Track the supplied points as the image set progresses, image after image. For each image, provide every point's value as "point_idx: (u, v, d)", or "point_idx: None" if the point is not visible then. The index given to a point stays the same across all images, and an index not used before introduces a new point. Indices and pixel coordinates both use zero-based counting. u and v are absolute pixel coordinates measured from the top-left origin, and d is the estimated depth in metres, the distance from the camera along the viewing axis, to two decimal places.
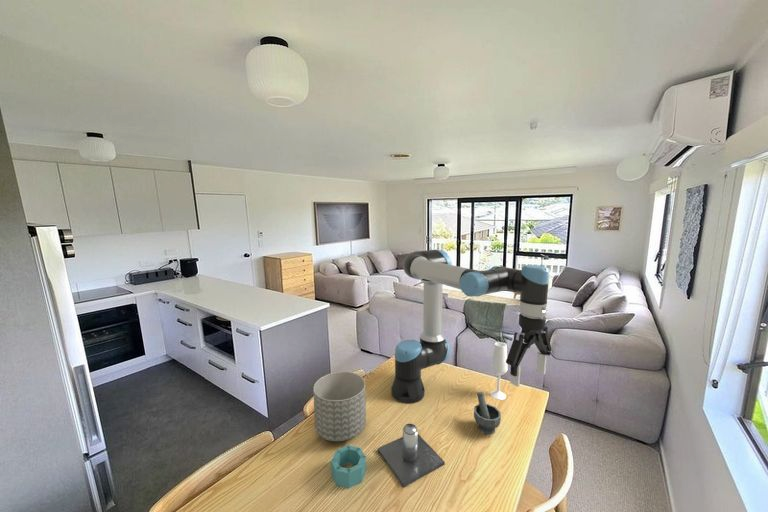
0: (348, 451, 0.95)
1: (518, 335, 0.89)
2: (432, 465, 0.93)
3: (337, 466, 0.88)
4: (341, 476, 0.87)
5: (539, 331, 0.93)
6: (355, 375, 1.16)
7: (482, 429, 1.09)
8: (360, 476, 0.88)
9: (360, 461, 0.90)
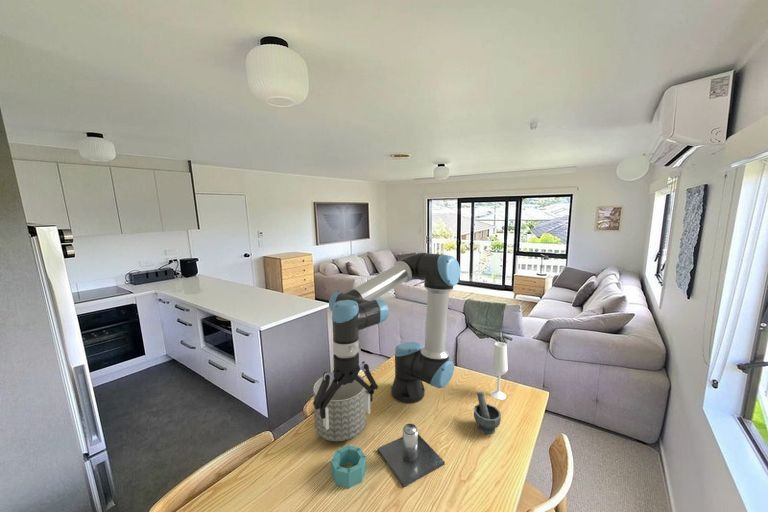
0: (348, 451, 0.95)
1: (325, 375, 0.84)
2: (432, 465, 0.93)
3: (337, 466, 0.88)
4: (341, 476, 0.87)
5: (355, 370, 0.88)
6: None
7: (482, 429, 1.09)
8: (360, 476, 0.88)
9: (360, 461, 0.90)
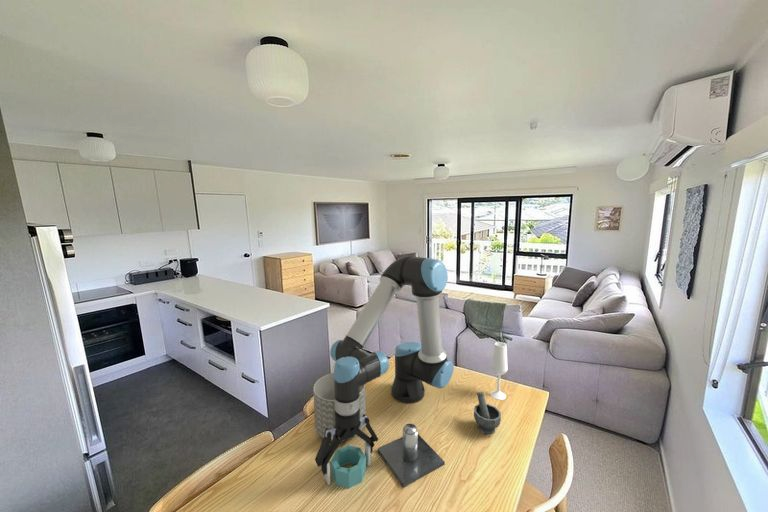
0: (348, 451, 0.95)
1: (326, 433, 0.86)
2: (432, 465, 0.93)
3: (337, 466, 0.88)
4: (341, 476, 0.87)
5: (356, 425, 0.90)
6: None
7: (482, 429, 1.09)
8: (360, 476, 0.88)
9: (360, 461, 0.90)
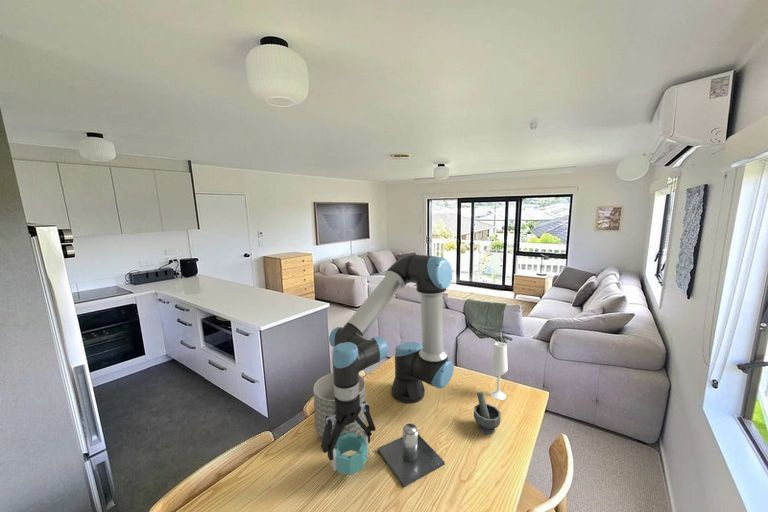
0: (349, 439, 0.95)
1: (326, 420, 0.86)
2: (432, 465, 0.93)
3: (338, 454, 0.88)
4: (342, 463, 0.87)
5: (357, 409, 0.90)
6: None
7: (482, 429, 1.09)
8: (361, 463, 0.88)
9: (361, 448, 0.90)
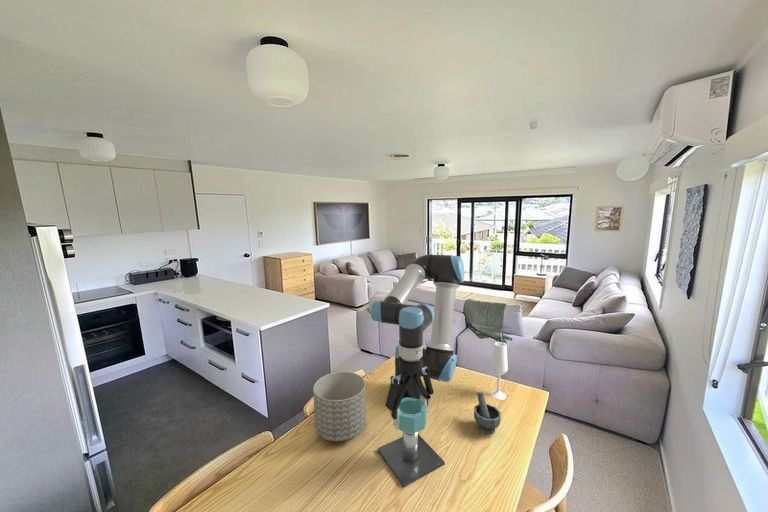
0: (407, 402, 0.99)
1: (393, 379, 0.90)
2: (432, 465, 0.93)
3: (401, 413, 0.92)
4: (406, 421, 0.91)
5: (419, 372, 0.94)
6: (355, 375, 1.16)
7: (482, 429, 1.09)
8: (423, 422, 0.92)
9: (422, 409, 0.94)
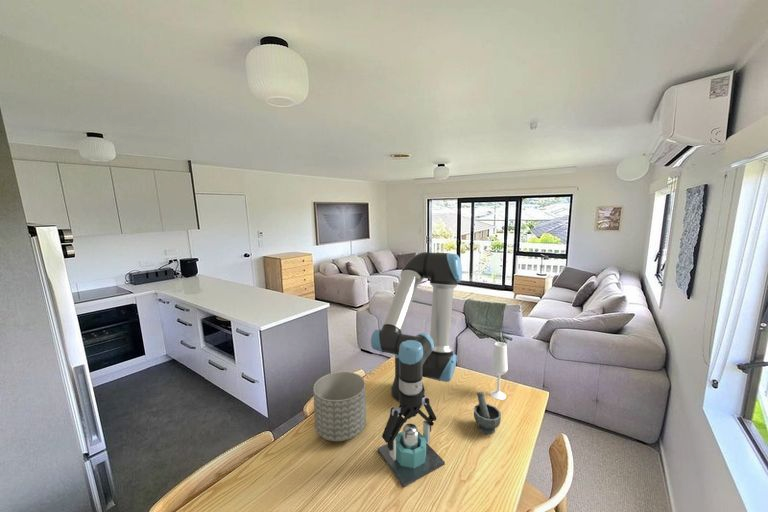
0: None
1: (393, 411, 0.92)
2: (432, 465, 0.93)
3: (401, 448, 0.94)
4: (406, 457, 0.93)
5: (418, 404, 0.96)
6: (355, 375, 1.16)
7: (482, 429, 1.09)
8: (423, 457, 0.94)
9: (422, 443, 0.96)
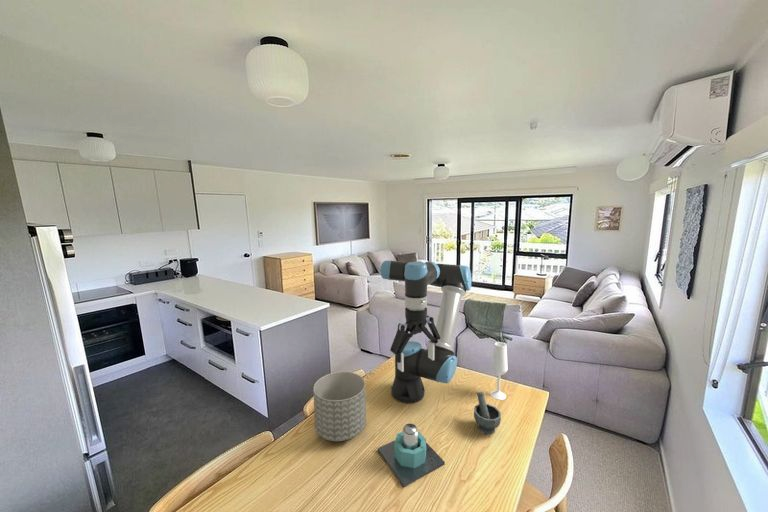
0: None
1: (400, 326, 0.98)
2: (432, 465, 0.93)
3: (401, 448, 0.94)
4: (406, 457, 0.93)
5: (423, 321, 1.02)
6: (355, 375, 1.16)
7: (482, 429, 1.09)
8: (423, 457, 0.94)
9: (422, 443, 0.96)
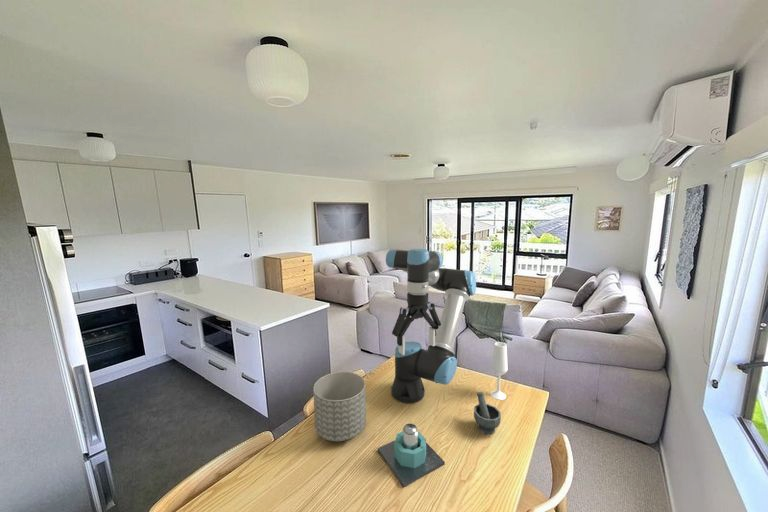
0: None
1: (402, 309, 1.01)
2: (432, 465, 0.93)
3: (401, 448, 0.94)
4: (406, 457, 0.93)
5: (425, 307, 1.05)
6: (355, 375, 1.16)
7: (482, 429, 1.09)
8: (423, 457, 0.94)
9: (422, 443, 0.96)
